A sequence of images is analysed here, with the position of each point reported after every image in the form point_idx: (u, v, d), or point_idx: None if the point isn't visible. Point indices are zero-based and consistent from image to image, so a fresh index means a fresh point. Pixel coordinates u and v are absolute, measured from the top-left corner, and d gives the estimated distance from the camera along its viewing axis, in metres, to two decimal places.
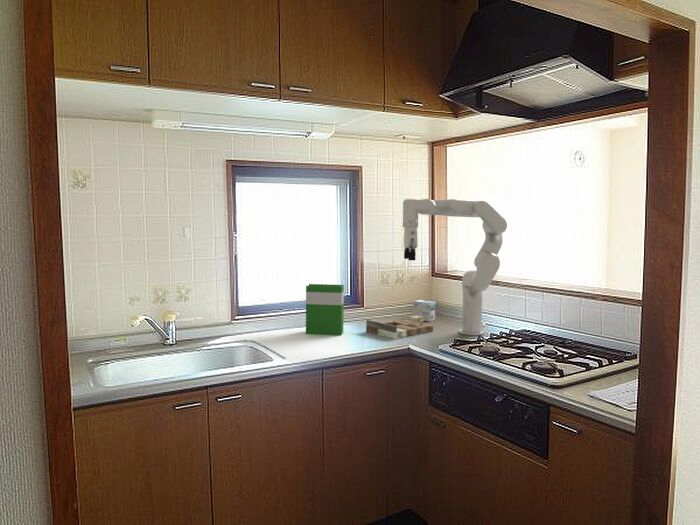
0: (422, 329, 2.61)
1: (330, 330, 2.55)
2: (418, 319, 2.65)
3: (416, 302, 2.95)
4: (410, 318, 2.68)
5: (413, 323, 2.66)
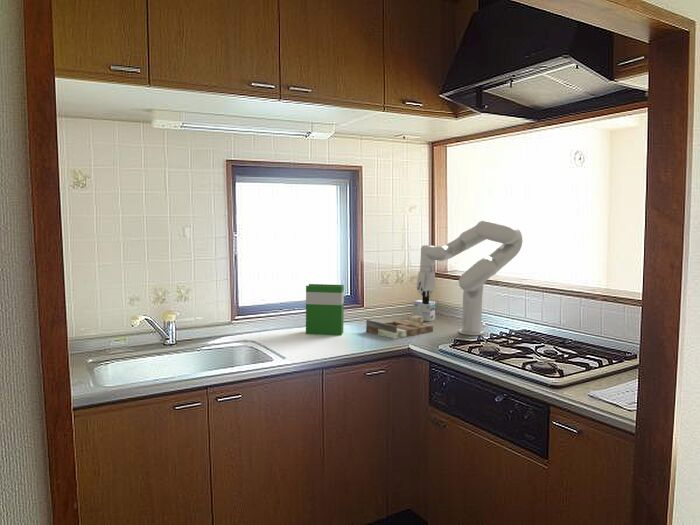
0: (422, 329, 2.61)
1: (330, 330, 2.55)
2: (418, 319, 2.65)
3: (416, 302, 2.95)
4: (410, 318, 2.68)
5: (413, 323, 2.66)
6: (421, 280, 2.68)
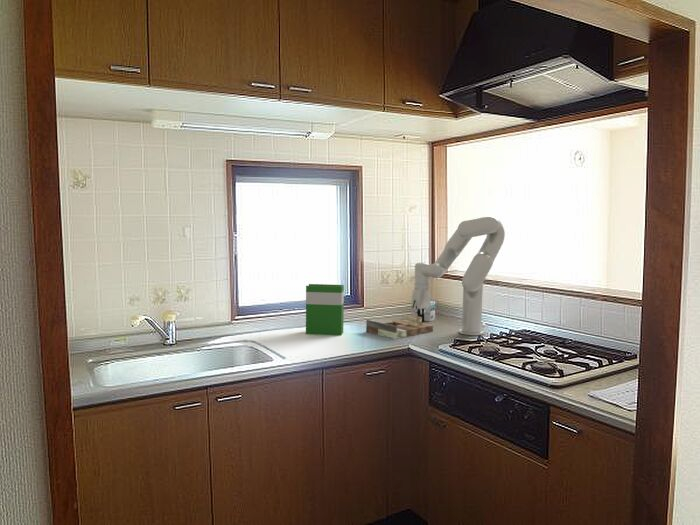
0: (422, 329, 2.61)
1: (330, 330, 2.55)
2: (417, 319, 2.65)
3: None
4: (409, 318, 2.67)
5: (412, 323, 2.65)
6: (416, 298, 2.66)
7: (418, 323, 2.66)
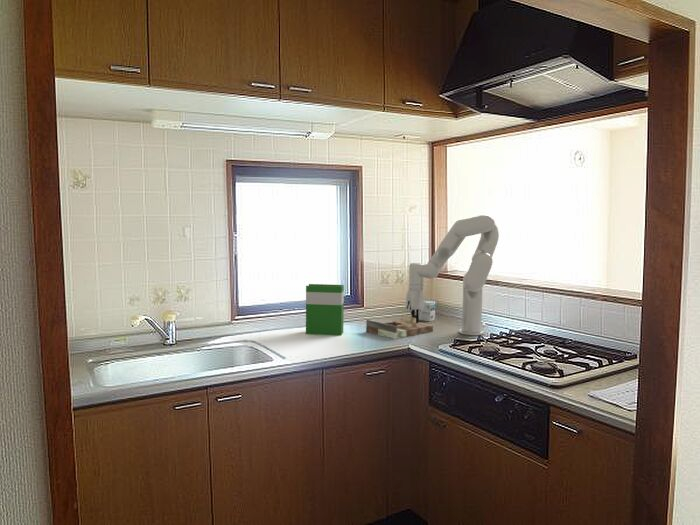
0: (422, 329, 2.61)
1: (330, 330, 2.55)
2: (410, 320, 2.62)
3: None
4: (403, 319, 2.64)
5: (406, 324, 2.63)
6: (410, 299, 2.63)
7: (412, 324, 2.63)
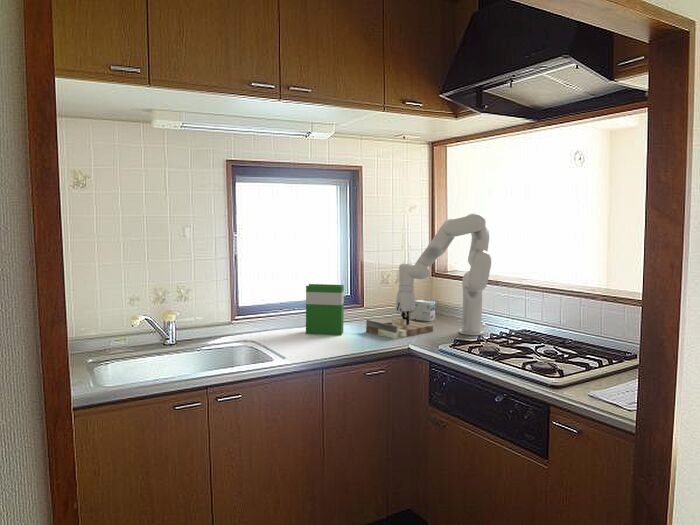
0: (422, 329, 2.61)
1: (330, 330, 2.55)
2: (401, 322, 2.57)
3: (416, 302, 2.95)
4: (393, 321, 2.60)
5: None
6: (400, 300, 2.58)
7: (402, 326, 2.58)
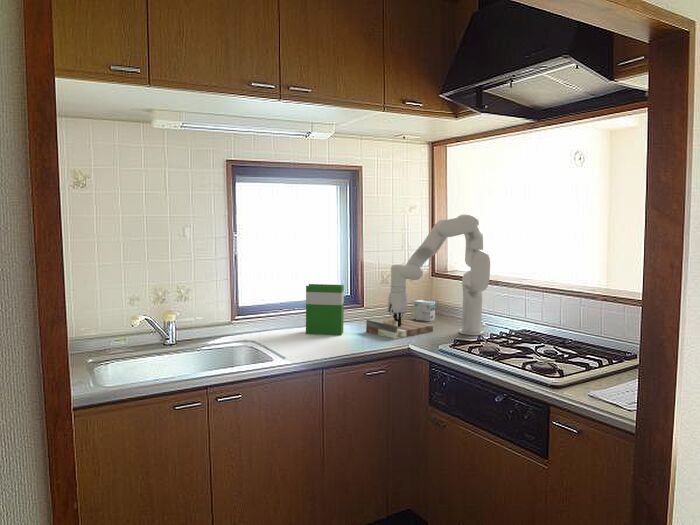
0: (422, 329, 2.61)
1: (330, 330, 2.55)
2: (392, 324, 2.53)
3: (416, 302, 2.95)
4: (384, 322, 2.56)
5: None
6: (392, 301, 2.54)
7: None
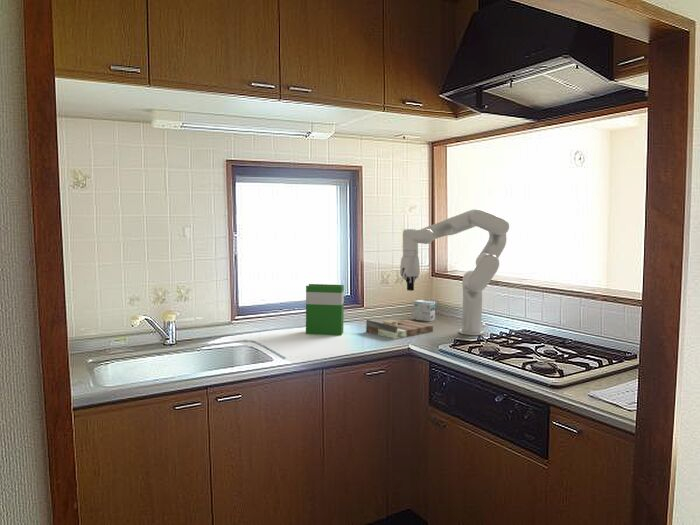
0: (422, 329, 2.61)
1: (330, 330, 2.55)
2: (392, 324, 2.53)
3: (416, 302, 2.95)
4: (384, 322, 2.56)
5: None
6: (404, 265, 2.57)
7: None
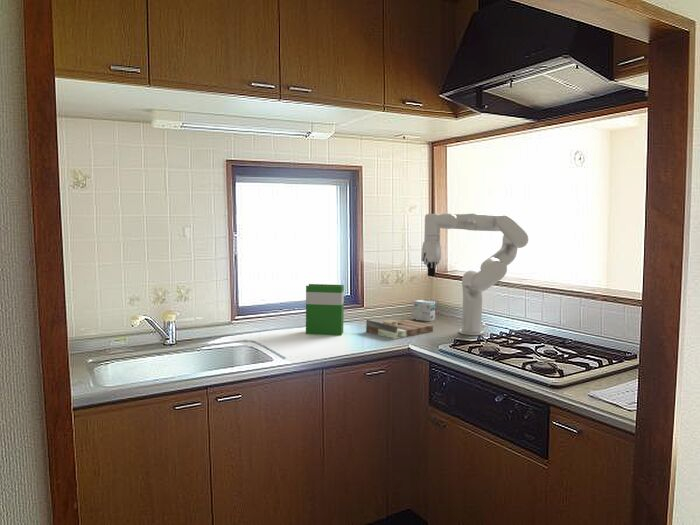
0: (422, 329, 2.61)
1: (330, 330, 2.55)
2: (392, 324, 2.53)
3: (416, 302, 2.95)
4: (384, 322, 2.56)
5: None
6: (426, 250, 2.53)
7: None
